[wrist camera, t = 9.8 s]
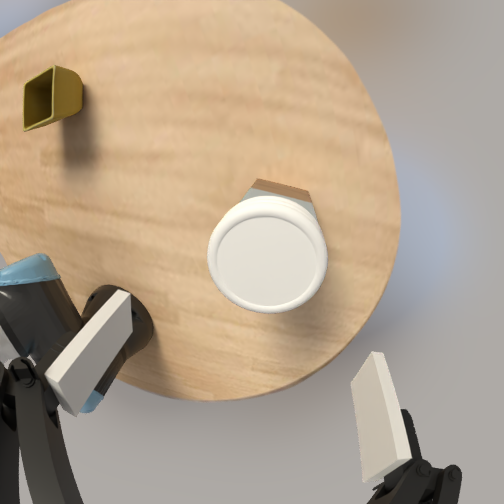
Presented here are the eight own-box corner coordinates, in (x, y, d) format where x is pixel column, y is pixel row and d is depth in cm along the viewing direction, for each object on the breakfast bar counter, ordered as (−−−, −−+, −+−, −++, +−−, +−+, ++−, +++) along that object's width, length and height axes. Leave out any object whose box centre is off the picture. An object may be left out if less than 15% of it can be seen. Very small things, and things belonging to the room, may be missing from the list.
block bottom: (295, 237, 39) (295, 258, 33) (247, 225, 39) (238, 244, 33) (308, 191, 36) (312, 203, 30) (257, 178, 36) (250, 187, 30)
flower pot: (57, 127, 36) (22, 132, 28) (57, 84, 32) (22, 83, 24) (90, 116, 35) (53, 118, 27) (91, 69, 31) (55, 63, 23)
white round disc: (224, 183, 23) (213, 191, 20) (337, 209, 23) (345, 222, 20) (209, 282, 27) (199, 301, 24) (306, 304, 27) (308, 326, 24)
